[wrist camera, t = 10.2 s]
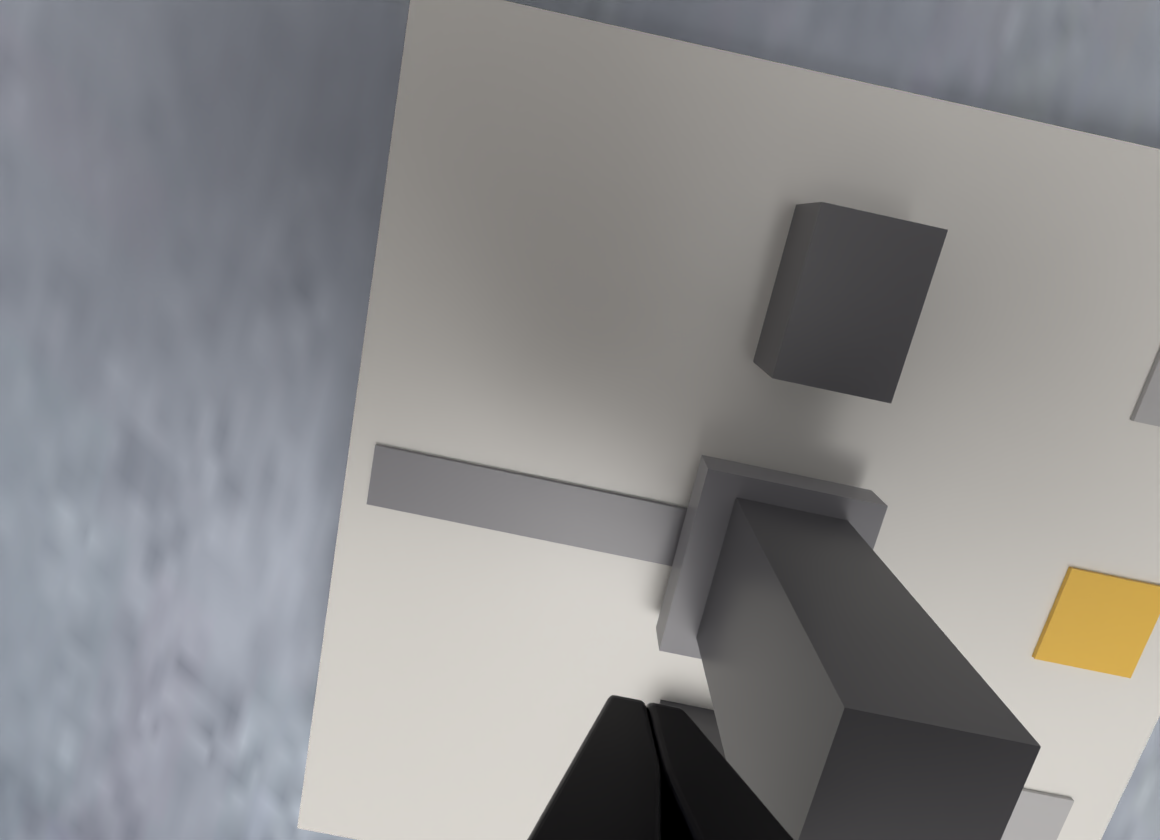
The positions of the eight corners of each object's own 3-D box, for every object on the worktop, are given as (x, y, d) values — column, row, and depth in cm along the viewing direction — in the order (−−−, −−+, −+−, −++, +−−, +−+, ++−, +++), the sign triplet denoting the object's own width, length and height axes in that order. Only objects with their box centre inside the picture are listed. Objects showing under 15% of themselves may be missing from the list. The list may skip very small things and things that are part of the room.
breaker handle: (871, 489, 14) (1114, 723, 7) (814, 659, 15) (987, 1000, 8) (701, 455, 13) (795, 659, 7) (655, 627, 14) (703, 947, 8)
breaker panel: (1251, 208, 15) (1509, 201, 11) (974, 858, 20) (1081, 1037, 15) (448, 27, 15) (387, -55, 11) (342, 736, 19) (268, 887, 15)
